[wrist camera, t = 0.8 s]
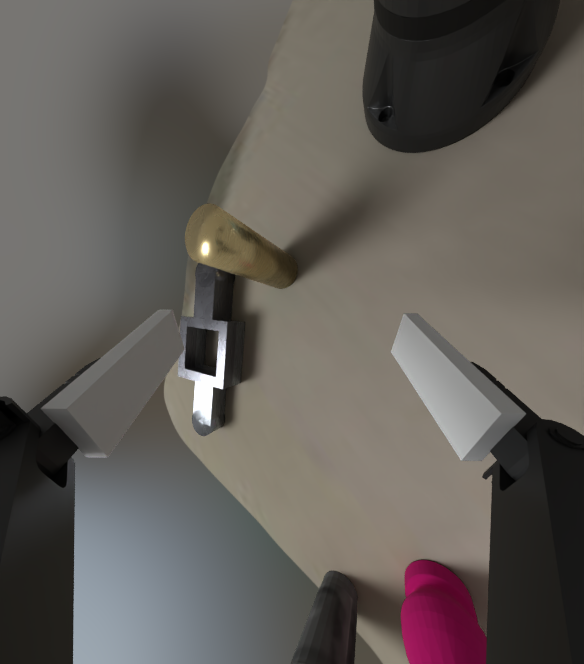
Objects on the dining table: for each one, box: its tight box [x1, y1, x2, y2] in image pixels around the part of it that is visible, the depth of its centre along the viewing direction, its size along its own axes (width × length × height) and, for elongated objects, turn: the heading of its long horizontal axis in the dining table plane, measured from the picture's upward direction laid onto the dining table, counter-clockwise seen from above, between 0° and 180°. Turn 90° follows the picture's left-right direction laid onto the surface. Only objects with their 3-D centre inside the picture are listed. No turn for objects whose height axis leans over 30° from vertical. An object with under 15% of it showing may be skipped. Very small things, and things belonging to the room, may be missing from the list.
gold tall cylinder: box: [185, 204, 298, 289], centre depth 25 cm, size 5×5×14 cm
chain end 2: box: [192, 320, 245, 436], centre depth 36 cm, size 19×10×3 cm, turn 174°
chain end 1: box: [178, 263, 237, 389], centre depth 34 cm, size 19×10×4 cm, turn 174°
